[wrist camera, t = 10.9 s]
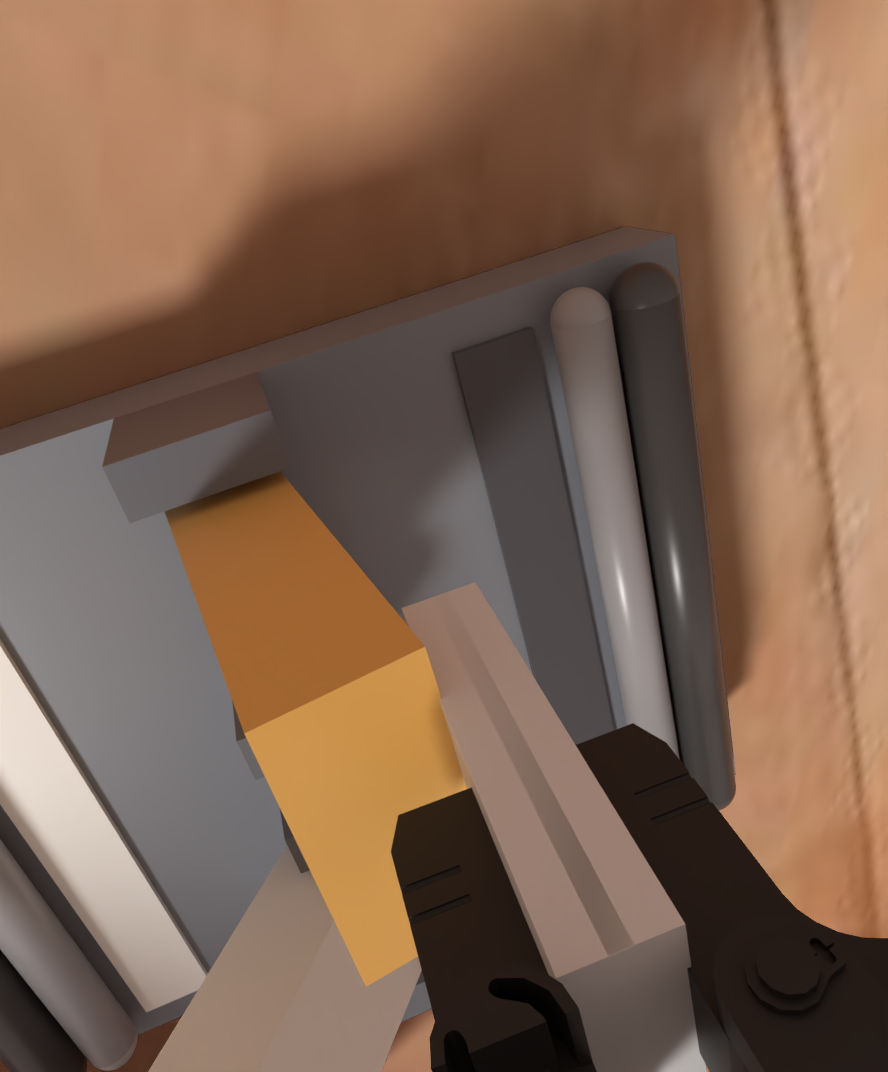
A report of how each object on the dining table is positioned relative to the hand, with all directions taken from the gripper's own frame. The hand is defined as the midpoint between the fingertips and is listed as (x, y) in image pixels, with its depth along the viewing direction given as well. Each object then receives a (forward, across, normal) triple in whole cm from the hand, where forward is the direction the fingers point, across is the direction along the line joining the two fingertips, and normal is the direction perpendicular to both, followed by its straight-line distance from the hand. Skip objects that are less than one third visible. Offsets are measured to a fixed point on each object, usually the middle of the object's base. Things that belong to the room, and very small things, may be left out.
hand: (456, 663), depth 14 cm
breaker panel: (+10, +3, +6) cm, 12 cm away
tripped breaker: (+6, +3, 0) cm, 7 cm away
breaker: (+6, +3, +10) cm, 12 cm away
